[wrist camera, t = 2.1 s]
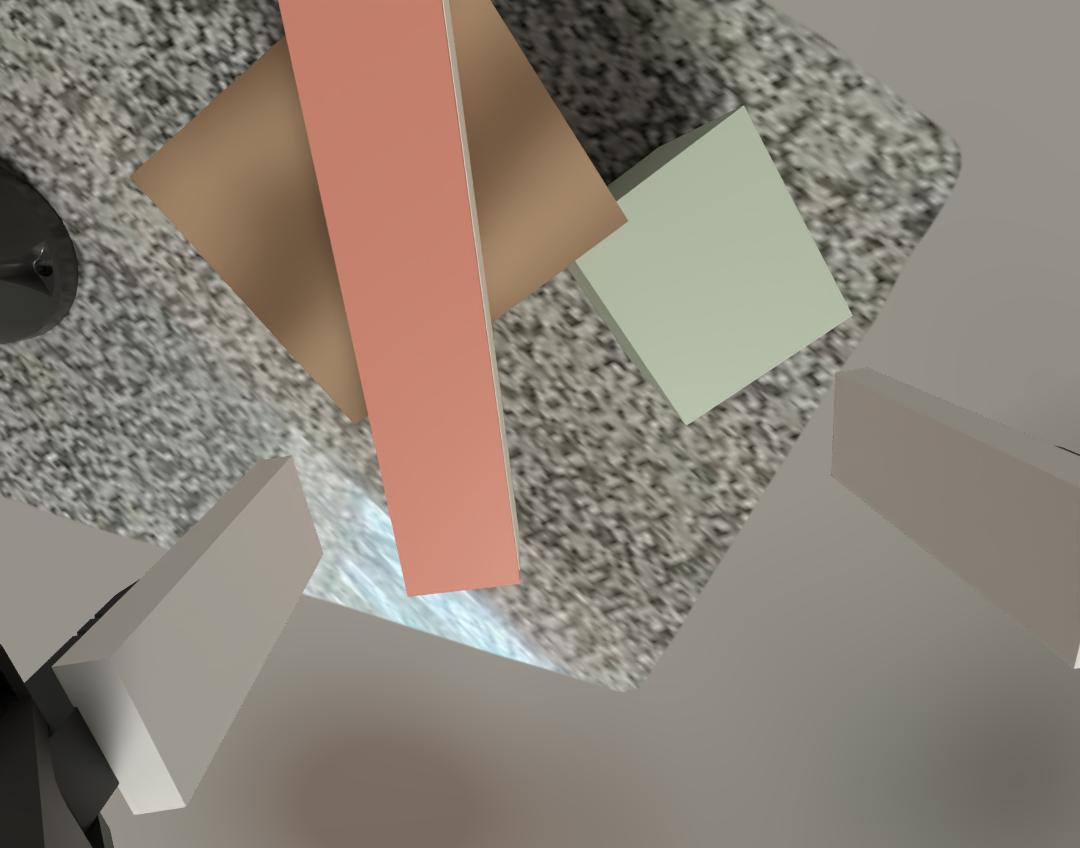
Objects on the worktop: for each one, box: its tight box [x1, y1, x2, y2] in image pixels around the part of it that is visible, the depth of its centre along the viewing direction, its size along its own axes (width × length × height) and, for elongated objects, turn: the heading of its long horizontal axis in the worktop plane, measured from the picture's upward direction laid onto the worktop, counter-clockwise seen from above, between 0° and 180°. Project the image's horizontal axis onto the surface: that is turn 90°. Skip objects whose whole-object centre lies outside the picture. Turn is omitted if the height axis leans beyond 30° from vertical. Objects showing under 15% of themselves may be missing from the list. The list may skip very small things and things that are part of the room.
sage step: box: [567, 106, 852, 425], centre depth 43 cm, size 14×12×19 cm
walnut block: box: [130, 0, 628, 424], centre depth 36 cm, size 12×14×30 cm
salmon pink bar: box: [278, 0, 520, 597], centre depth 21 cm, size 22×4×4 cm, turn 6°
